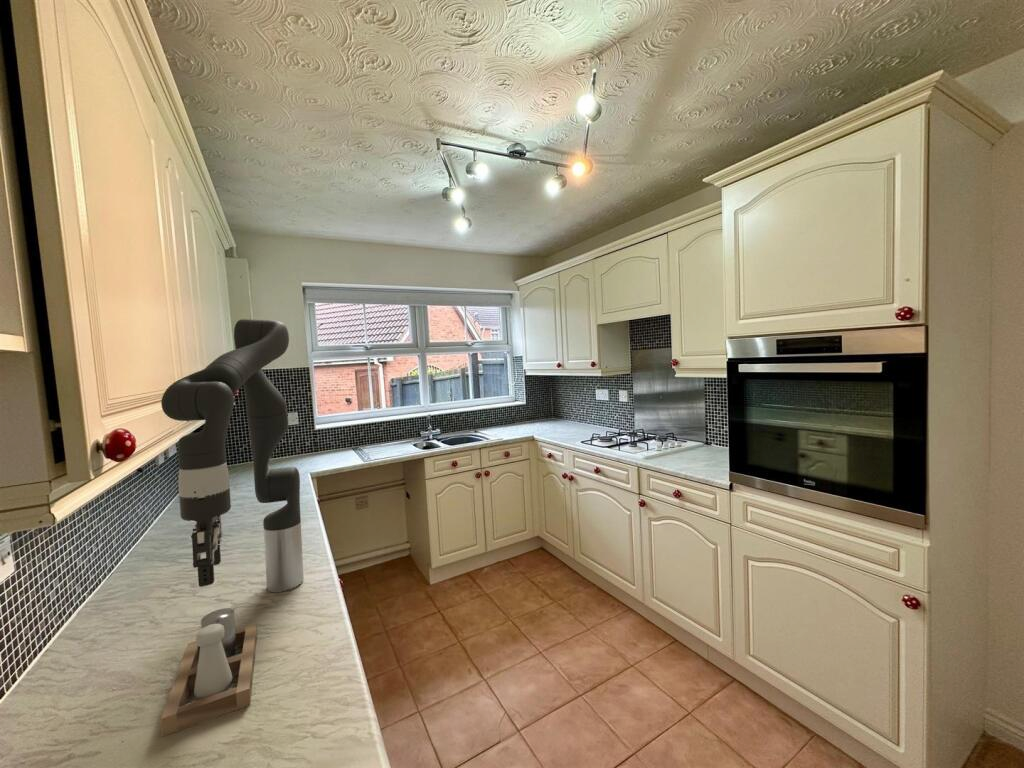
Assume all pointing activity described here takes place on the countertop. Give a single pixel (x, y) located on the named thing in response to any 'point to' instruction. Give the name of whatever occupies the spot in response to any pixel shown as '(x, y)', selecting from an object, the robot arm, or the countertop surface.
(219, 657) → the salt shaker
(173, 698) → the spice rail
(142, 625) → the countertop surface
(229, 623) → the pepper shaker
